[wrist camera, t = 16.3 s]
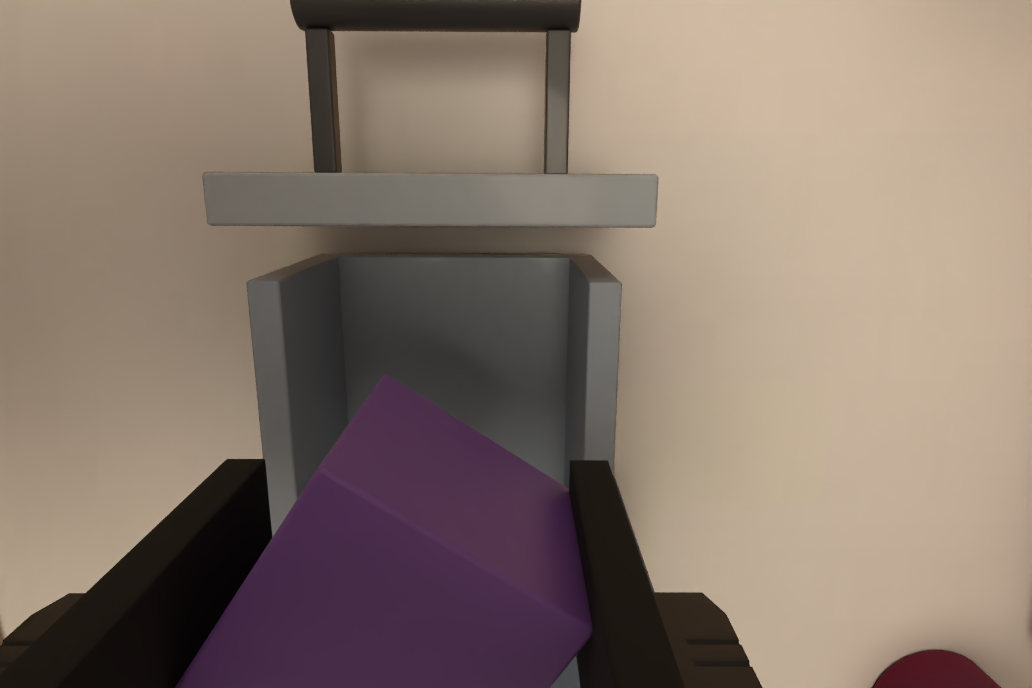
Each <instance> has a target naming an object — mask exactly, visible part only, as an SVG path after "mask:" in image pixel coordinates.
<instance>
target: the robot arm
mask: <svg viewBox="0 0 1032 688" xmlns="http://www.w3.org/2000/svg"><path fill="white" fill-rule="evenodd" d="M569 495H570V501H571V506H572V512H573V518H574V523H575V529H576V535H577V540H578V546H579V552H580V557H581V563H582V569H583V575H584V580H585V586H586V592H587V597H588V603H589V609H590V614H591V620H592V626H593V635H592V636H591V637H590V639H589V640H588V641H587V642H586V644H585V645H584V646H583V647H582V649H581V650H580V651H579V652H578V653H577V655H576V657H577V665H578V672H579V680H580V688H762V686H761V684H760V682H759V680H758V678H757V676H756V674H755V672H754V670H753V668H752V667H750V665H749V660H748V658H747V656H746V654H745V652H744V650H743V647H742V645H739V639H738V637H737V635H736V633H735V631H734V629H733V627H732V625H731V623H730V621H729V619H728V617H727V615H726V614H725V613H724V612H723V611H722V610H721V609H720V608H719V607H718V606H716V605H715V604H714V603H713V602H712V601H711V600H710V599H709V598H707V597H706V596H705V595H704V594H703V593H658V592H652V589H651V586H650V583H649V580H648V577H647V574H646V571H645V568H644V565H643V562H642V559H641V557H640V554H639V551H638V548H637V545H636V542H635V539H634V536H633V533H632V530H631V527H630V524H629V521H628V518H627V515H626V512H625V509H624V506H623V503H622V500H621V497H620V494H619V492H618V489H617V486H616V483H615V480H614V477H613V474H612V471H611V468H610V465H609V462H608V460H570V473H569ZM271 539H272V527H271V517H270V506H269V495H268V484H267V473H266V463H265V459H227V460H225V461H224V462H223V463H222V464H221V465H220V466H219V467H218V468H217V469H216V470H215V471H214V472H213V473H212V474H211V475H210V476H209V477H208V478H207V479H205V480H204V481H203V482H202V483H201V484H200V485H199V486H198V487H197V488H196V489H195V490H194V491H193V492H192V493H191V494H190V495H189V496H188V497H186V498H185V499H184V500H183V501H182V502H181V503H180V504H179V505H178V506H177V507H176V508H175V509H174V510H173V511H172V512H171V513H170V514H169V515H168V516H166V517H165V518H164V519H163V520H162V521H161V522H160V523H159V524H158V525H157V526H156V527H155V528H154V529H153V530H152V531H151V532H150V533H149V534H148V535H146V536H145V537H144V538H143V539H142V540H141V541H140V542H139V543H138V544H137V545H136V546H135V547H134V548H133V549H132V550H131V551H130V552H129V553H127V554H126V555H125V556H124V557H123V558H122V559H121V560H120V561H119V562H118V563H117V564H116V565H115V566H114V567H113V568H112V569H111V570H110V571H109V572H107V573H106V574H105V575H104V576H103V577H102V578H101V579H100V580H99V581H98V582H97V583H96V584H95V585H94V586H93V587H92V588H91V589H90V590H88V591H87V592H86V593H69V594H67V595H66V596H64V597H62V598H60V599H59V600H57V601H55V602H53V603H52V604H50V605H48V606H46V607H45V608H43V609H41V610H39V611H38V612H36V613H34V614H32V615H31V616H30V617H29V618H28V619H26V620H25V621H24V622H23V623H22V624H21V625H20V626H19V627H17V628H16V629H15V630H14V631H13V632H12V633H11V634H10V635H8V636H7V637H6V638H5V639H4V640H3V643H2V645H1V646H0V688H175V687H176V685H177V684H178V682H179V681H180V679H181V678H182V676H183V675H184V673H185V671H186V670H187V668H188V667H189V665H190V664H191V662H192V661H193V659H194V658H195V656H196V655H197V653H198V651H199V650H200V648H201V647H202V645H203V644H204V642H205V641H206V639H207V638H208V636H209V634H210V633H211V631H212V630H213V628H214V627H215V625H216V624H217V622H218V621H219V619H220V618H221V616H222V614H223V613H224V611H225V610H226V608H227V607H228V605H229V604H230V602H231V601H232V599H233V598H234V596H235V594H236V593H237V591H238V590H239V588H240V587H241V585H242V584H243V582H244V581H245V579H246V577H247V576H248V574H249V573H250V571H251V570H252V568H253V567H254V565H255V564H256V562H257V561H258V559H259V557H260V556H261V554H262V553H263V551H264V550H265V548H266V547H267V545H268V544H269V542H270V541H271Z"/></svg>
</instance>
